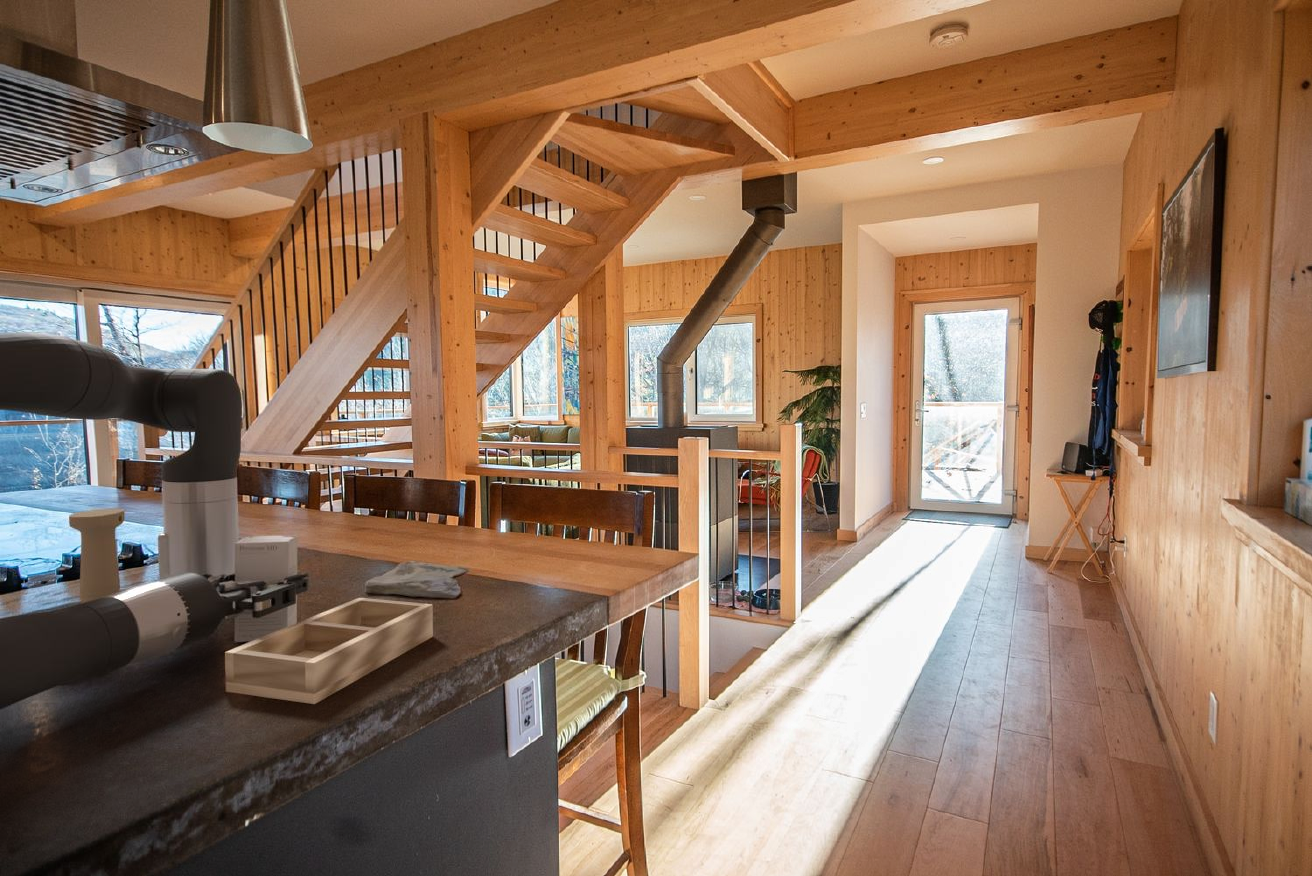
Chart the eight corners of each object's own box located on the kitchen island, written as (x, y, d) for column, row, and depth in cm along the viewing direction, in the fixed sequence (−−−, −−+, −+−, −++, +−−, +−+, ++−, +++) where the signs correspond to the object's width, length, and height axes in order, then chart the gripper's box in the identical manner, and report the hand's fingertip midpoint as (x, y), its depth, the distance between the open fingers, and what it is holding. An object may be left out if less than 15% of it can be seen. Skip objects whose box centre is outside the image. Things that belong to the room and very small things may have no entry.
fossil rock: (400, 572, 121) (400, 558, 121) (487, 574, 120) (487, 560, 120) (355, 600, 103) (354, 585, 103) (456, 603, 103) (456, 587, 103)
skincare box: (233, 644, 83) (230, 542, 83) (246, 631, 88) (243, 535, 87) (289, 640, 85) (288, 540, 84) (299, 628, 89) (298, 533, 88)
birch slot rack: (314, 704, 67) (313, 663, 67) (226, 691, 70) (224, 652, 70) (432, 636, 87) (432, 604, 86) (359, 628, 89) (359, 597, 89)
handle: (63, 643, 83) (58, 517, 82) (94, 626, 90) (89, 509, 89) (110, 640, 84) (105, 516, 83) (137, 623, 91) (133, 508, 90)
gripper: (211, 587, 70) (328, 552, 86) (101, 577, 74) (233, 545, 90) (213, 661, 70) (329, 613, 86) (104, 647, 74) (234, 603, 90)
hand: (280, 579), depth 88 cm, fingers closed on skincare box, 7 cm apart
